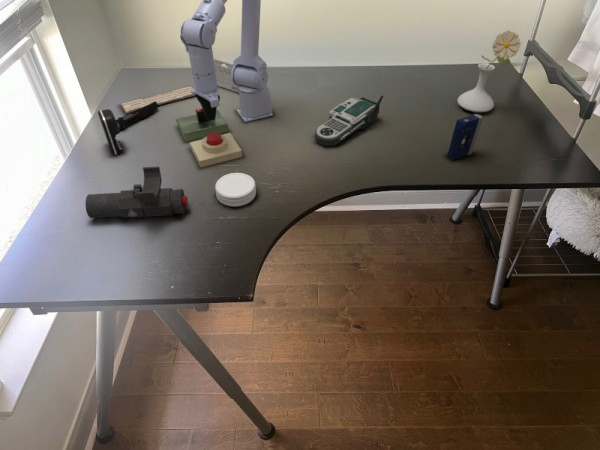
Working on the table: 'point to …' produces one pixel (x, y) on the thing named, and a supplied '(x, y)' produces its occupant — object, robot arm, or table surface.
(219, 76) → the ink cartridge box
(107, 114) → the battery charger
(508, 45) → the flower in vase
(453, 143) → the cassette player
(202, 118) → the black rectangular block
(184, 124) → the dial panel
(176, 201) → the laser sight
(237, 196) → the coaster
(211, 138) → the power button
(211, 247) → the table surface
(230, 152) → the box
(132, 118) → the electric trimmer
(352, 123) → the communication device
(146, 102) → the newspaper
